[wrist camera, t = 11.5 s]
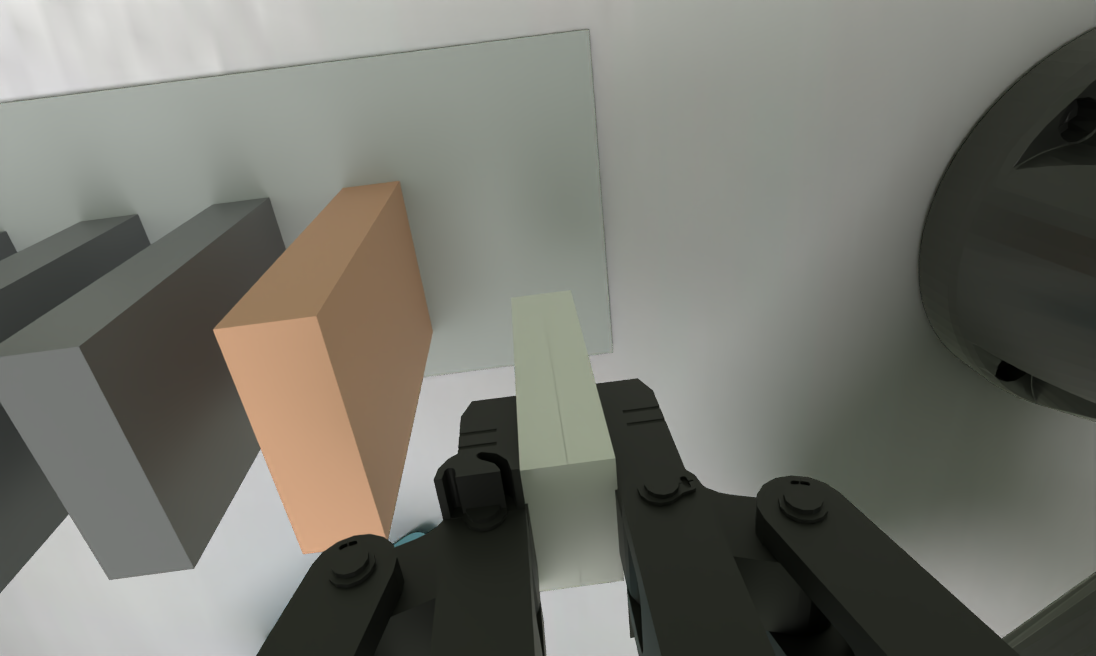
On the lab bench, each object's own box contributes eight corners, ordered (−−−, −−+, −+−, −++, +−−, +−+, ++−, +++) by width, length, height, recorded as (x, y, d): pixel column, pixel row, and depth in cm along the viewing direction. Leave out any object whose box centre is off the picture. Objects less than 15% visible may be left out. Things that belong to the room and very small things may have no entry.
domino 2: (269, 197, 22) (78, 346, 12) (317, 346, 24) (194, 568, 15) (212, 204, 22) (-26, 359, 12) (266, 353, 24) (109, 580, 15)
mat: (587, 29, 20) (588, 29, 20) (611, 347, 26) (612, 352, 25) (-332, 145, 20) (-348, 147, 20) (-113, 442, 26) (-122, 449, 25)
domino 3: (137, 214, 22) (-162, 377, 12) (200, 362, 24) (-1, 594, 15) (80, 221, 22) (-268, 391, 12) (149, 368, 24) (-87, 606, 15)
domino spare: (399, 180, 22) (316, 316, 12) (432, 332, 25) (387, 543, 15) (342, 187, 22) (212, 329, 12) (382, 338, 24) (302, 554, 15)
